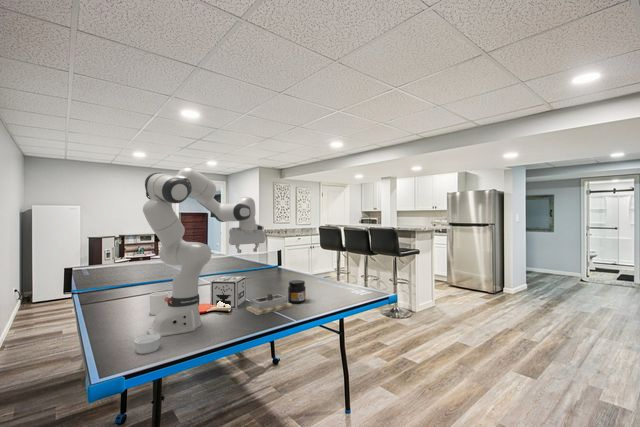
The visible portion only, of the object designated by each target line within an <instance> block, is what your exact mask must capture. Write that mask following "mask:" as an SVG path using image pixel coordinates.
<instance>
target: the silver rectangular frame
mask: <svg viewBox="0 0 640 427" xmlns="http://www.w3.org/2000/svg"><path fill="white" fill-rule="evenodd" d="M287 302H288V296H286V295H282V294H279V293H278V294H277V293H276V294H272V300H267V295H266V296H263V297H256V298H252V299H250V302H249V303H250V307H251V308H254V309H256V310H258V311H260V310H265V309H269V308H273V307H278V306H282V305H286V304H287Z"/></svg>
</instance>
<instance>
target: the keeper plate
mask: <svg viewBox="0 0 640 427" xmlns="http://www.w3.org/2000/svg"><path fill="white" fill-rule="evenodd" d="M272 295H273V293H272V294H271V293H269V294H267V295H266V296H267V300H272ZM293 306H294V305H293V304H292V303H290V302H288V301H287V304H286V305H282V306H278V307H273V308H269V309H265V310H260V311H258V310H256V309H254V308H251V307H250V306H246V311H248V312H250V313H252V314H255V315H257V316H261V315H263V314H268V313H273V312H276V311H281V310H285V309H291V308H293Z"/></svg>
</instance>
